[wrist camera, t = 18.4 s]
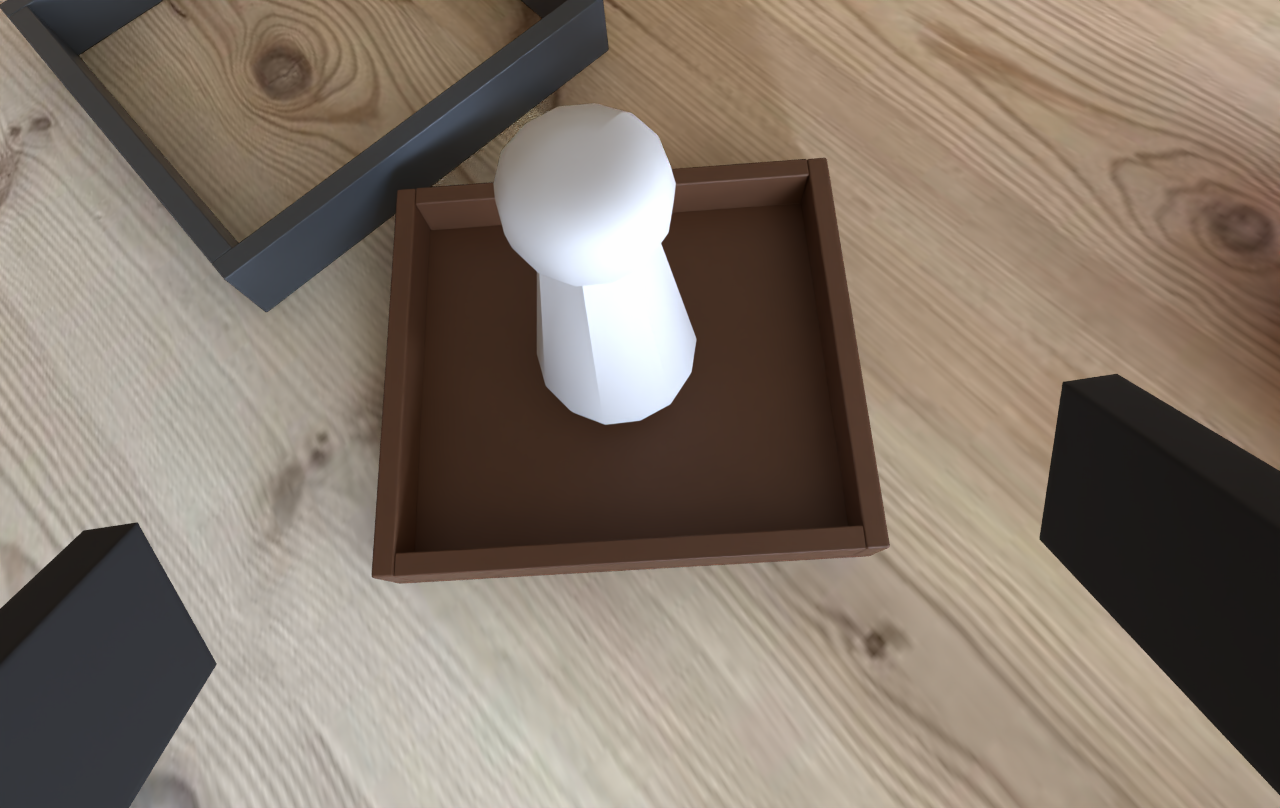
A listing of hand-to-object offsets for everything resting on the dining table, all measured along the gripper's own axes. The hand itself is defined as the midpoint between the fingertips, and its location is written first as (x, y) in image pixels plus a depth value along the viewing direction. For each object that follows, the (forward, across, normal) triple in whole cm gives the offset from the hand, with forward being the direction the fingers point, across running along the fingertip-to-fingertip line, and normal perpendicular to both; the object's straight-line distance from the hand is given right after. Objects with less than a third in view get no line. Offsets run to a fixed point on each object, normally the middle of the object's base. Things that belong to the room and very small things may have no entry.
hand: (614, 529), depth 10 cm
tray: (+18, 0, -5) cm, 19 cm away
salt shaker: (+17, 0, -5) cm, 18 cm away
